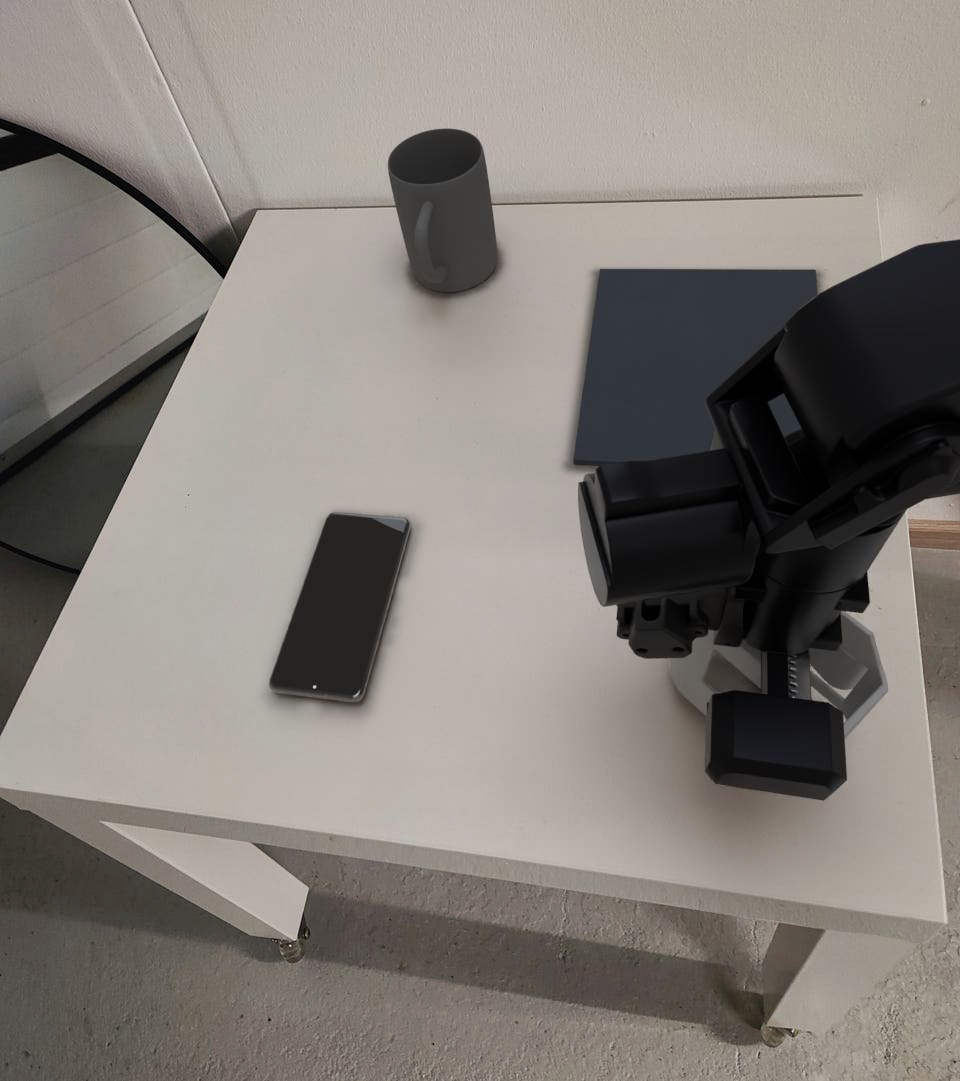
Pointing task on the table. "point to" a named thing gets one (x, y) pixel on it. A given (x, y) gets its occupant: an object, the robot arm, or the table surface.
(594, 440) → the mat
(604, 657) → the table surface
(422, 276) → the mug
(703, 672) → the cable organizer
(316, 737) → the table surface
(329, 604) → the smartphone
